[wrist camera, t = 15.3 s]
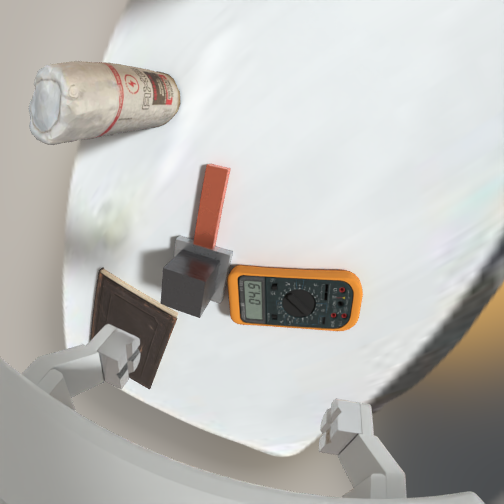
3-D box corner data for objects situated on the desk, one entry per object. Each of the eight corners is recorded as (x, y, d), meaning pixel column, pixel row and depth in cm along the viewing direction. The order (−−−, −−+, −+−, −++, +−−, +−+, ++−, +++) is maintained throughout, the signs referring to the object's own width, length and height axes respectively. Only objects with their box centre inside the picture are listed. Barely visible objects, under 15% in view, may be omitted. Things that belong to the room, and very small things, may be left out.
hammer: (191, 159, 38) (176, 164, 33) (250, 173, 37) (241, 179, 33) (174, 282, 46) (161, 297, 42) (223, 298, 45) (213, 315, 41)
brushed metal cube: (182, 249, 41) (163, 267, 36) (220, 260, 41) (205, 281, 36) (178, 282, 44) (160, 304, 38) (213, 294, 43) (199, 317, 38)
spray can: (178, 132, 36) (70, 148, 19) (127, 130, 38) (14, 149, 20) (185, 71, 33) (80, 41, 15) (133, 73, 34) (20, 60, 16)
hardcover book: (182, 311, 49) (176, 319, 46) (154, 382, 59) (149, 389, 57) (104, 265, 48) (97, 271, 46) (93, 344, 58) (88, 351, 56)
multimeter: (354, 319, 42) (356, 333, 39) (236, 312, 46) (230, 325, 43) (362, 267, 39) (365, 279, 36) (232, 261, 43) (225, 272, 40)
